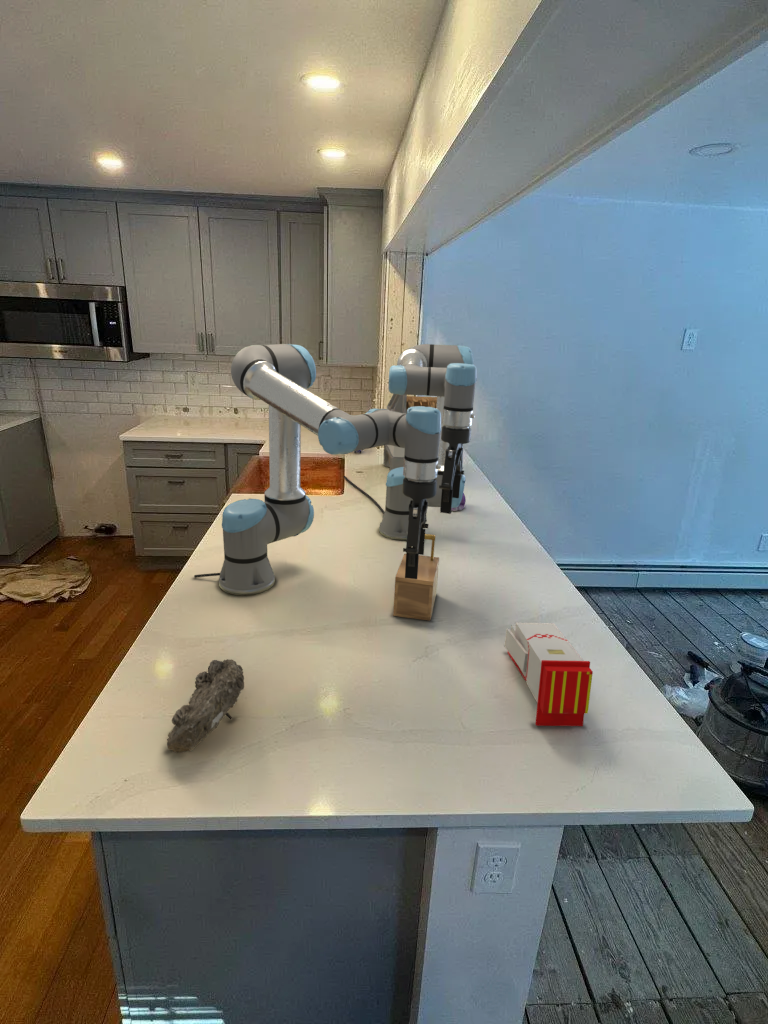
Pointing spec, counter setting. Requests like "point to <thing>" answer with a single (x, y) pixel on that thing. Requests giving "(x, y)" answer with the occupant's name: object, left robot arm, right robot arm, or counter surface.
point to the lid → (421, 567)
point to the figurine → (460, 504)
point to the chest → (414, 599)
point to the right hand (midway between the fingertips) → (449, 504)
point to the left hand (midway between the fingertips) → (414, 565)
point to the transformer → (401, 405)
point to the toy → (551, 672)
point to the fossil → (206, 705)
